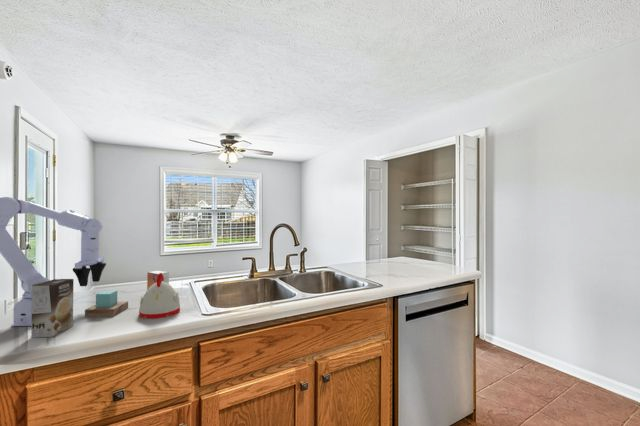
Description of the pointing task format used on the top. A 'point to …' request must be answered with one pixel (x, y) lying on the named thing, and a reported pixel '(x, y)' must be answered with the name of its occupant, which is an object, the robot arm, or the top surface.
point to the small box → (153, 277)
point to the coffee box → (52, 307)
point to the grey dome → (159, 300)
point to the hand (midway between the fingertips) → (89, 283)
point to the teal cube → (106, 299)
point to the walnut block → (106, 310)
